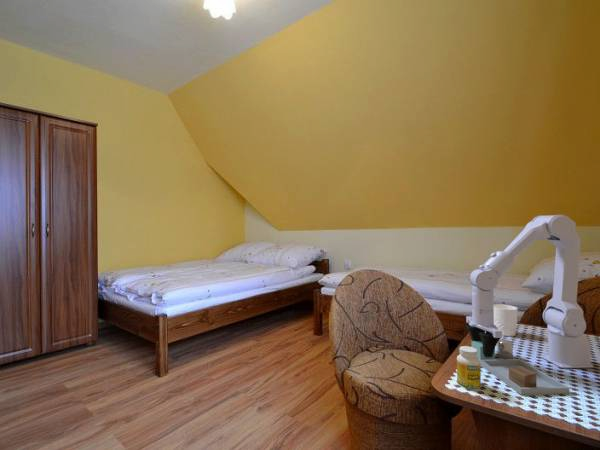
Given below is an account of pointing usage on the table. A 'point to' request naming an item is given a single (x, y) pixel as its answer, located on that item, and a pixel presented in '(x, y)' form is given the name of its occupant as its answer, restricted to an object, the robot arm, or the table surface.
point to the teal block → (481, 350)
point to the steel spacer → (505, 349)
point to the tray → (543, 381)
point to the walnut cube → (522, 377)
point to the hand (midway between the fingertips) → (482, 353)
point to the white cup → (505, 319)
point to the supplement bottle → (468, 368)
